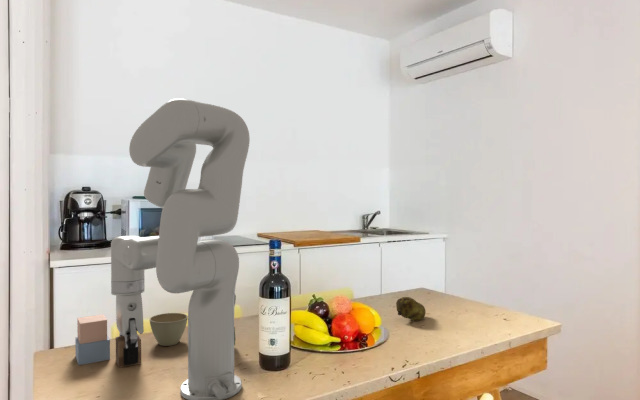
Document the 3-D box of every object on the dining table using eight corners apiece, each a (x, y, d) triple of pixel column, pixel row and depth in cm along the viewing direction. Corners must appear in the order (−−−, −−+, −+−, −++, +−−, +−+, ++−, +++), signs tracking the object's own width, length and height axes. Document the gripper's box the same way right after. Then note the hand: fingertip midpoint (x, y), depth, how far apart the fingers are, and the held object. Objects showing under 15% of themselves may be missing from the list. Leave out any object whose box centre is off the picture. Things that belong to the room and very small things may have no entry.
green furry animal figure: (435, 320, 146) (435, 296, 146) (405, 326, 140) (405, 300, 140) (418, 314, 154) (418, 291, 154) (388, 319, 147) (388, 295, 147)
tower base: (110, 359, 112) (109, 339, 112) (78, 365, 108) (78, 345, 108) (105, 351, 118) (105, 332, 118) (75, 356, 114) (75, 337, 114)
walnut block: (141, 363, 109) (141, 339, 109) (119, 367, 107) (119, 342, 107) (137, 357, 114) (137, 333, 113) (115, 361, 111) (115, 337, 111)
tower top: (107, 339, 112) (107, 319, 112) (80, 344, 109) (80, 323, 109) (103, 333, 117) (103, 314, 117) (77, 337, 114) (77, 317, 114)
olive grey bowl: (176, 350, 118) (176, 323, 118) (142, 347, 120) (142, 321, 120) (194, 338, 128) (194, 313, 128) (162, 336, 130) (162, 311, 130)
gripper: (151, 291, 105) (152, 367, 105) (137, 279, 119) (137, 346, 119) (117, 295, 101) (117, 374, 101) (106, 282, 115) (106, 351, 115)
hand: (128, 358), depth 110 cm, fingers open, 5 cm apart
